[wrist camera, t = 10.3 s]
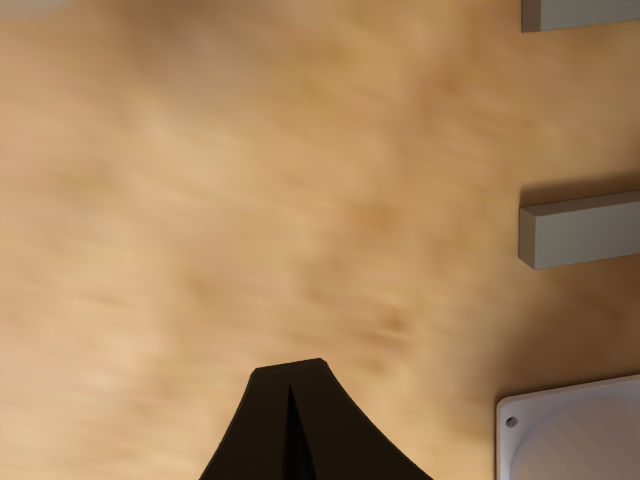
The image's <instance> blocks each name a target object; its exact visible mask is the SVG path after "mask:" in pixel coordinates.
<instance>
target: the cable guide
mask: <svg viewBox="0 0 640 480" xmlns="http://www.w3.org/2000/svg"><path fill="white" fill-rule="evenodd" d="M637 19H640V0H523V2H522V33H524V32H537V31H546V30H554V29H563V28H571V27H579V26H587V25H595V24H604V23H612V22H620V21H628V20H637ZM634 254H640V190H636V191H629V192H622V193H615V194H609V195H602V196H595V197H588V198H581V199H574V200H568V201H561V202H554V203H547V204H540V205H533V206H527V207H520V217H519V258H520V259H521V260H522V261H523V262H525V263H526V264H527V265H529V266H530V267H531V268H533V269H534V270H538V269H544V268H551V267H557V266H564V265H570V264H576V263H583V262H589V261H596V260H602V259H608V258H615V257H621V256H628V255H634Z"/></svg>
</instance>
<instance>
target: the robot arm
mask: <svg viewBox="0 0 640 480" xmlns="http://www.w3.org/2000/svg"><path fill="white" fill-rule="evenodd" d="M510 417H513V418H512V419H511V420H510V421H507V419H508V418H510ZM199 480H434V479H432V478H431V477H430V476H429V475H427V474H426V473H425V472H424V471H422V470H421V469H420V468H419V467H418V466H417V465H416V464H414V463H413V462H412V461H411V460H410V459H409V458H408V457H407V456H405V455H404V454H403V453H402V452H401V451H400V450H399V449H398V448H397V447H396V446H395V445H394V444H393V443H392V442H391V441H390V440H389V439H388V438H387V437H386V436H385V435H384V434H383V433H382V432H381V431H380V430H379V429H378V428H377V427H376V426H375V425H374V424H373V423H372V422H371V421H370V419H369V418H368V417H367V416H366V415H365V414H364V413H363V412H362V410H361V409H360V408H359V407H358V406H357V405H356V404H355V402H354V401H353V400H352V399H351V398H350V396H349V395H348V394H347V392H346V391H345V390H344V388H343V387H342V386H341V385H340V383H339V382H338V380H337V379H336V377H335V376H334V374H333V373H332V371H331V370H330V368H329V366H328V364H327V362H326V361H324V360H323V359H321V358H315V359H309V360H303V361H297V362H291V363H285V364H279V365H273V366H266V367H260V368H256V369H255V370H254V371H253V372H252V373H251V375H250V378H249V381H248V384H247V387H246V390H245V392H244V395H243V397H242V399H241V402H240V404H239V406H238V408H237V410H236V413H235V415H234V417H233V419H232V421H231V423H230V425H229V427H228V429H227V431H226V433H225V435H224V437H223V439H222V441H221V442H220V444H219V446H218V448H217V450H216V452H215V453H214V455H213V457H212V458H211V460H210V462H209V463H208V465H207V467H206V468H205V470H204V472H203V473H202V475H201V477H200V479H199ZM497 480H640V374H637V375H631V376H626V377H620V378H614V379H608V380H603V381H597V382H591V383H585V384H580V385H574V386H568V387H562V388H557V389H551V390H545V391H539V392H533V393H528V394H522V395H516V396H510V397H506V398H504V399H502V400H501V401H500V402H499V403H498V405H497Z"/></svg>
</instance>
